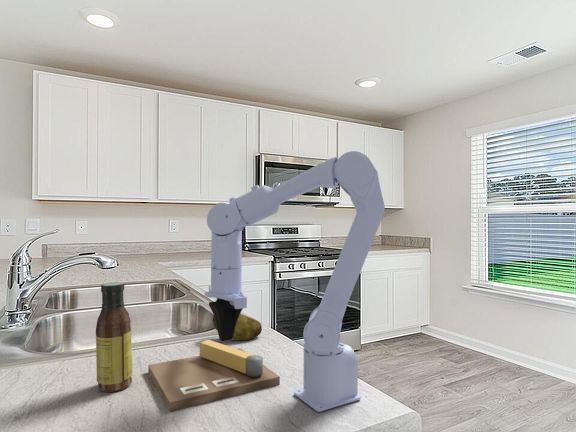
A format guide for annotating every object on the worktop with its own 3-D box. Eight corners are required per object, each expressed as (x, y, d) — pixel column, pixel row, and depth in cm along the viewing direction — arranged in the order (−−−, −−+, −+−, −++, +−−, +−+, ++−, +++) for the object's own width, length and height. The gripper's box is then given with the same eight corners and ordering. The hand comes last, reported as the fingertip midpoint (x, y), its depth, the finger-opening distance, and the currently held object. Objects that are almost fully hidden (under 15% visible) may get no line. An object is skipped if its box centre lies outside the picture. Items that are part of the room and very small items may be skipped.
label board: (240, 354, 90) (240, 347, 90) (279, 384, 74) (279, 376, 74) (148, 372, 79) (148, 364, 79) (169, 411, 63) (169, 401, 63)
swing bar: (266, 373, 74) (266, 357, 74) (254, 378, 72) (254, 362, 72) (209, 352, 86) (210, 339, 86) (198, 356, 83) (198, 342, 83)
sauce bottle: (122, 377, 77) (123, 279, 77) (138, 385, 73) (139, 282, 73) (89, 387, 72) (90, 283, 72) (104, 397, 68) (105, 286, 68)
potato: (256, 344, 97) (256, 313, 98) (208, 342, 99) (209, 311, 99) (263, 335, 106) (263, 306, 106) (219, 333, 108) (219, 304, 108)
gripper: (194, 264, 76) (193, 332, 75) (219, 273, 63) (219, 355, 63) (227, 263, 79) (227, 328, 79) (257, 270, 67) (257, 348, 67)
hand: (225, 339), depth 71 cm, fingers closed
